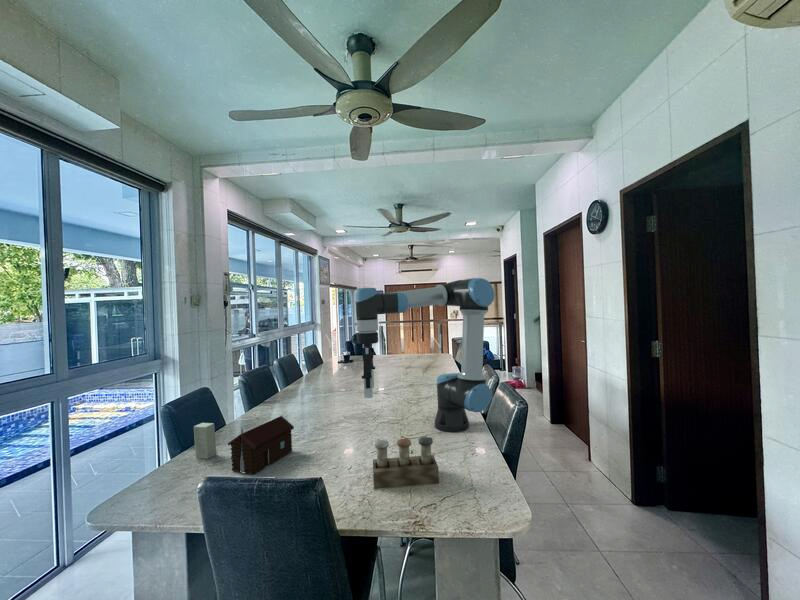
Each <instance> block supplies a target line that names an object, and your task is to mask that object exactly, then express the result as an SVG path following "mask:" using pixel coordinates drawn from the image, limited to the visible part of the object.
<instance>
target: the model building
mask: <svg viewBox="0 0 800 600" xmlns="http://www.w3.org/2000/svg"><path fill="white" fill-rule="evenodd" d="M294 429H295V426H294V425H293V424H292V423H290V422H289V421H288V420H287V419H286V418H285V417H284V416H282V415H280V416H278V417H276V418H274V419H272V420H271V419H270V420H269V421H266V422H265V423H262V424H260V425H258V426H256V427H254V428H251V429H249V430H246V431H245V432H244V428H241V429H240V431H241V433H240V434H238V435H237V436H235V438H233V439H232V440H230V441H229V442H228V443H227V446H230V455H231V456H230V458H231V470H232V472H237V471H238V472H237V473H241V472H246V473H245V474H247V473H255V474H257V473H259V472H260V471H262V470H263V468H264V467H265V466H266V467H268V466H270V465H269V464H271V465H272V464H274V463H275V462H277V461H279V460H281V459H282V458H283V457H285V456H287V455H289V454H290V453H292V452H293V448H292V447H293V443H292V439H293V437H292V435H293V434H292V430H294ZM267 465H268V466H267ZM266 467H265V468H266ZM265 468H264V469H265ZM240 471H241V472H240ZM258 471H259V472H258ZM256 472H257V473H256Z"/></svg>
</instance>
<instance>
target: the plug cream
mask: <svg viewBox="0 0 800 600" xmlns="http://www.w3.org/2000/svg"><path fill="white" fill-rule="evenodd" d="M389 445H390V442H389V441H388V440H386V439H380V440H376V441H375V442H374V448H376V459H377V465H378V468H388V461H387V458H388V447H389Z"/></svg>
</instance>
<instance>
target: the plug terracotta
mask: <svg viewBox="0 0 800 600" xmlns="http://www.w3.org/2000/svg"><path fill="white" fill-rule="evenodd" d="M396 445H397V447H398V455H399V457H398V458H399V460H400V467H404V466H410V458H409V457H410V446H411V445H412V441H411V439H410V438H399V439H397V440H396Z"/></svg>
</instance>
